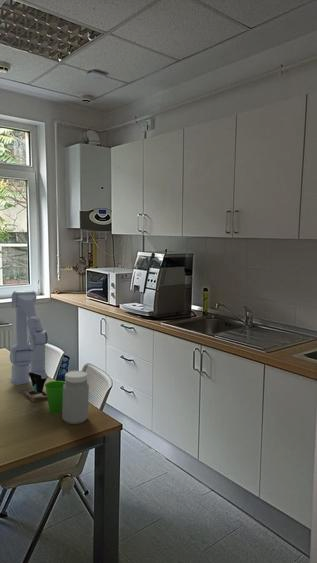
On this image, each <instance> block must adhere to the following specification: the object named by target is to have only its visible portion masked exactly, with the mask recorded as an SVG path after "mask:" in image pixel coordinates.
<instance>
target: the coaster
mask: <svg viewBox="0 0 317 563" xmlns="http://www.w3.org/2000/svg"><path fill="white" fill-rule="evenodd" d="M26 391H31V390H30V389H22V390H21V389H20V390H19V391H18V393H19V394H20V395H21V394H22V395H24V392H26Z"/></svg>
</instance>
